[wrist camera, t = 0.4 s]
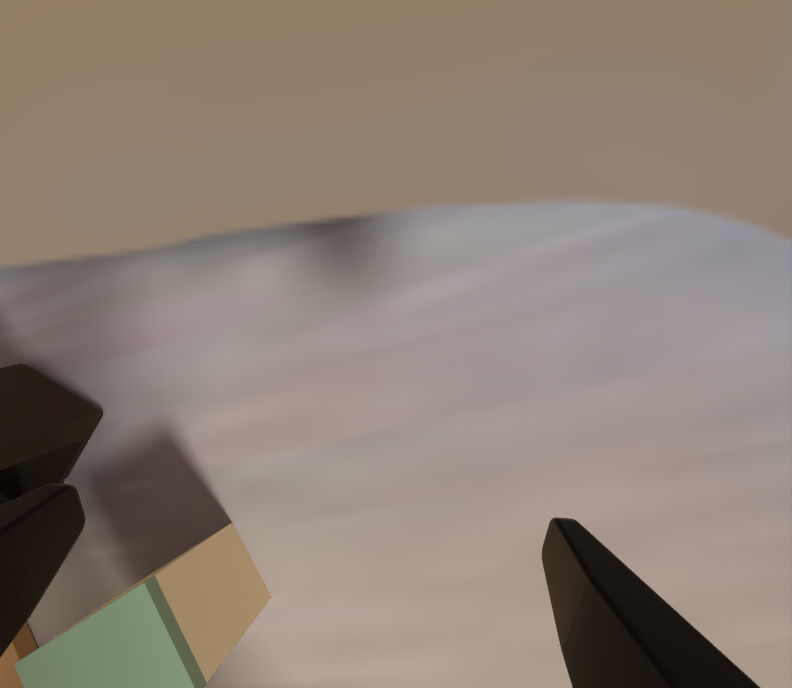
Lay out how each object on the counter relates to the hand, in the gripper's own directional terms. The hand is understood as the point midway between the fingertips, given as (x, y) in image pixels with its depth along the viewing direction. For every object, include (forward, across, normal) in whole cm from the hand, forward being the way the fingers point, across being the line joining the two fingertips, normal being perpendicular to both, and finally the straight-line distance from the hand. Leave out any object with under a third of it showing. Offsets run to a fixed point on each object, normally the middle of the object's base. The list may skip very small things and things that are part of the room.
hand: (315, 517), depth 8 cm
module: (+9, +8, +16) cm, 20 cm away
